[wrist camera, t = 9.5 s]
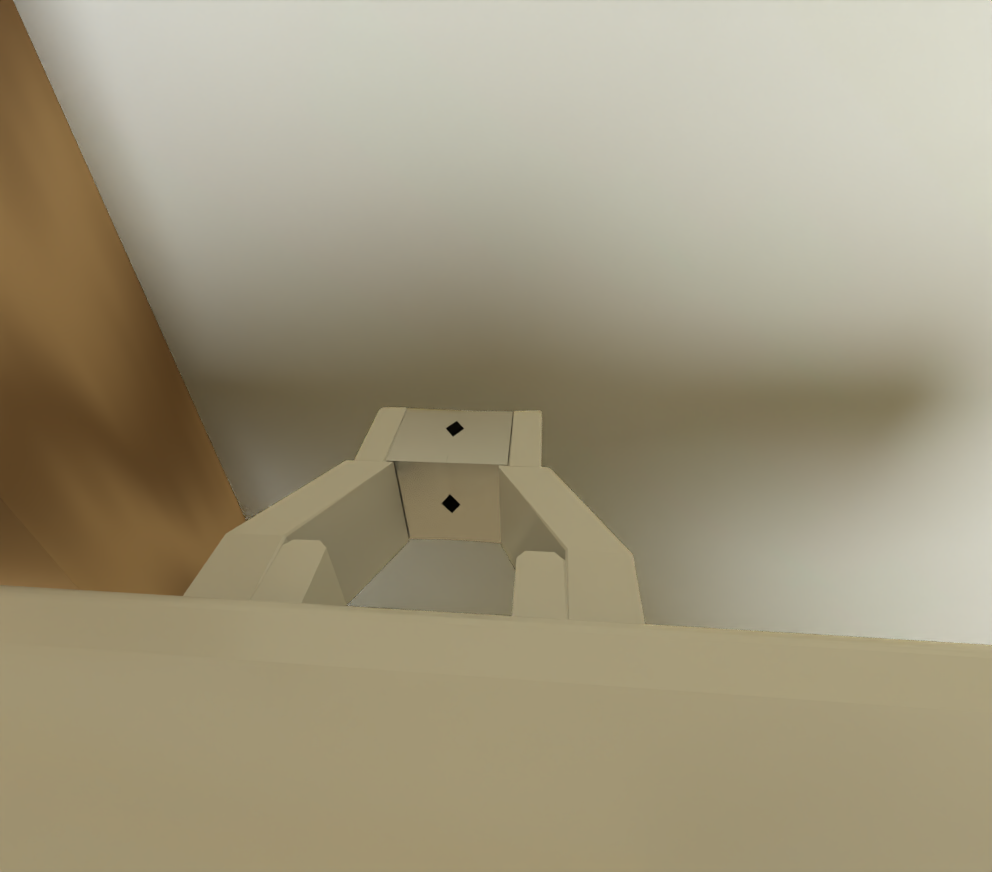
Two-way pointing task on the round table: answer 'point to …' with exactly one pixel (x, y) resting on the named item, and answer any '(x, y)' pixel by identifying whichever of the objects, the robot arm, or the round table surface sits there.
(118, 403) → the T block
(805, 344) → the round table surface
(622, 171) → the round table surface
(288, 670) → the robot arm
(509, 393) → the round table surface
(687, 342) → the round table surface
